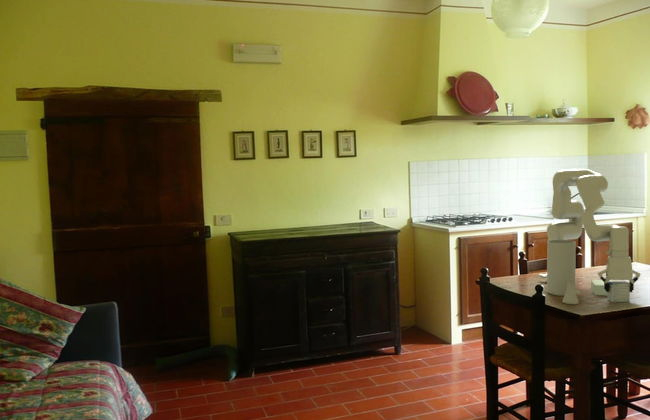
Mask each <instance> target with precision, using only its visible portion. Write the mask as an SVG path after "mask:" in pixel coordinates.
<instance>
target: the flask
mask: <svg viewBox="0 0 650 420" xmlns="http://www.w3.org/2000/svg"><path fill="white" fill-rule="evenodd" d="M567 282H568V286H567V290H566V293H565V295H564V296H563V298H562V300H561V301H562V304H567V305H578V304H580V302H579V299H578V296H577V293H576V288H575V289H574V282H575V283H576V280H575V281H573V280H567Z"/></svg>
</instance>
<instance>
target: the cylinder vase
mask: <svg viewBox="0 0 650 420" xmlns="http://www.w3.org/2000/svg"><path fill="white" fill-rule="evenodd" d="M546 244H547V246H546V247H547V248H546V249H547V250H546V251H547V253H546V256H547V257H546V262H547V263H546V274H547V278H546V279H547V282H546V292H547V293H548V294H549V295H552V296H557V297H559V296H560V297H564V295H565V293H566V290H567V286H568V282H567V280H573V281H575V282H574V289H575V290H576V270H577V269H576V267H577V265H576V264H577V263H576V262H577V261H576V258H577V257H576V256H577V255H576V250H577V247H576V245H577V243H576V241H575V240H572V239H568V240H549V241H548V240H547V242H546Z"/></svg>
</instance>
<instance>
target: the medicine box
mask: <svg viewBox="0 0 650 420" xmlns="http://www.w3.org/2000/svg"><path fill="white" fill-rule="evenodd" d="M608 283H609V292H608V295H607V300H608V301H609V302H610V303H611V302H612V303H620V302H623V303H624V302H626V303H627V302H630V293H631V292H630V283H629V281H627V280H610V281H609V282H608Z"/></svg>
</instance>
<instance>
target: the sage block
mask: <svg viewBox="0 0 650 420" xmlns="http://www.w3.org/2000/svg"><path fill="white" fill-rule="evenodd" d="M590 291H592V293H593V295H595V296H608V292H606V291H605V290H604V282H603V281H602V280H601V279H590Z"/></svg>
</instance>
